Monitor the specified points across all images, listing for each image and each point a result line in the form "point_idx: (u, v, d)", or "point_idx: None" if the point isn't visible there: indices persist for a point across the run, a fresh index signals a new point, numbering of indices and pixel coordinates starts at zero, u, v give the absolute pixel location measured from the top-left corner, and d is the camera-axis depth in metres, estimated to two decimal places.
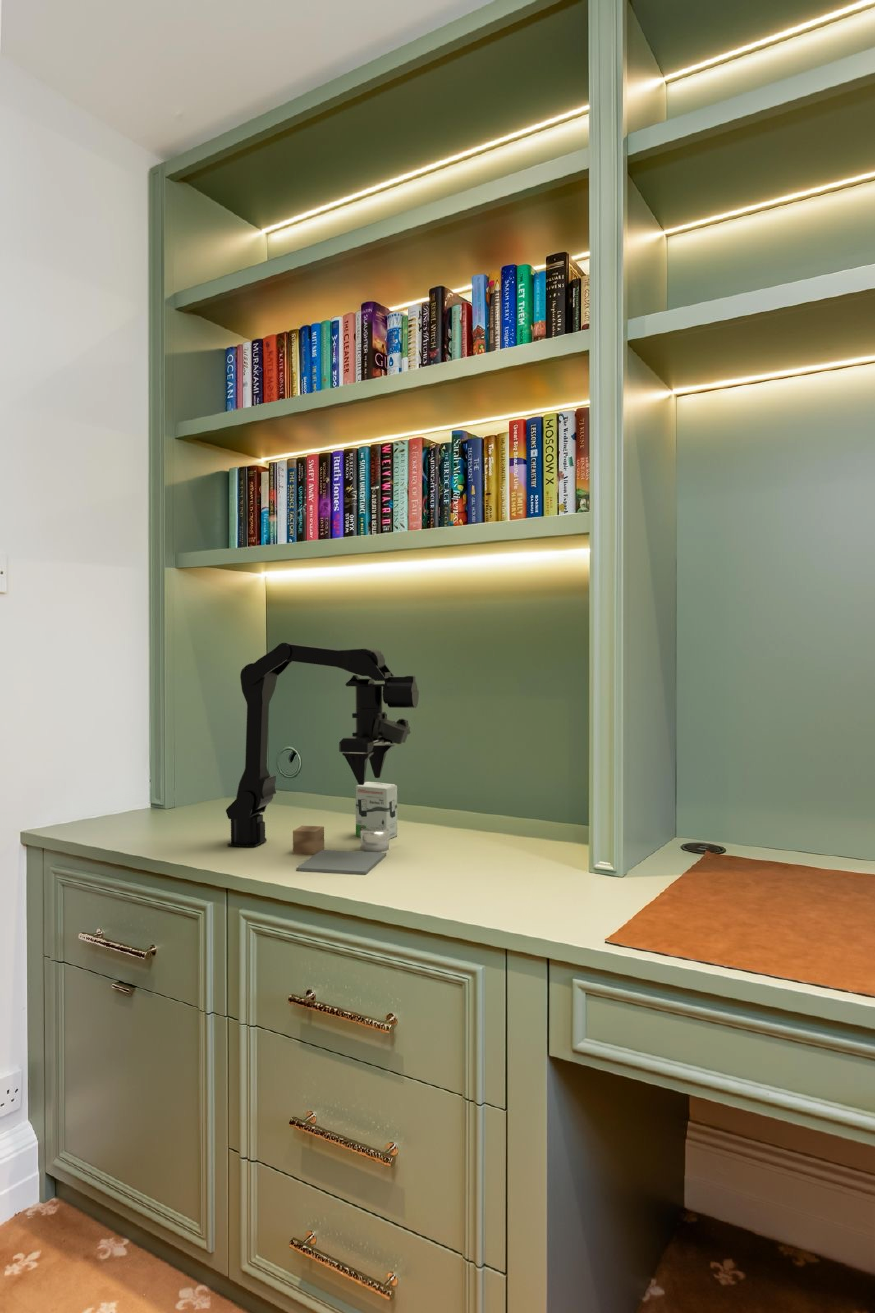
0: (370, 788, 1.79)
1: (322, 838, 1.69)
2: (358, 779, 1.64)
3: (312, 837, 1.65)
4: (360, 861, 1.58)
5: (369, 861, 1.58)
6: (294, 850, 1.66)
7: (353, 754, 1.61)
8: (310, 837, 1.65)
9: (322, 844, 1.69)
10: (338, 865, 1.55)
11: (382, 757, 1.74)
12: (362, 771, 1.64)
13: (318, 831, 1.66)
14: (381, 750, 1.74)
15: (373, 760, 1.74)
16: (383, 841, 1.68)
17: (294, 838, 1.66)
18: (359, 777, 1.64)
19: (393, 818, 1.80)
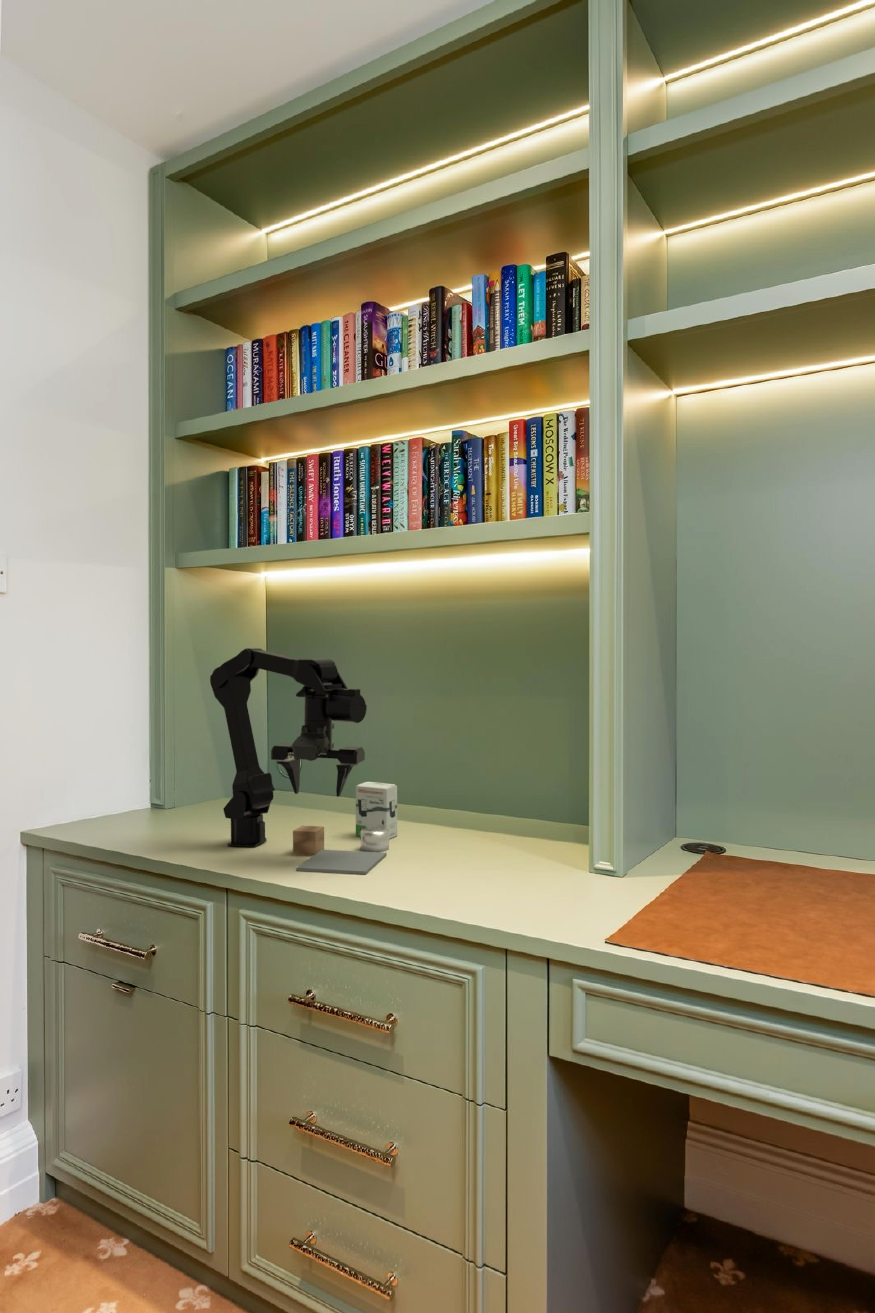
0: (370, 788, 1.79)
1: (322, 838, 1.69)
2: None
3: (312, 837, 1.65)
4: (360, 861, 1.58)
5: (369, 861, 1.58)
6: (294, 850, 1.66)
7: None
8: (310, 837, 1.65)
9: (322, 844, 1.69)
10: (338, 865, 1.55)
11: None
12: None
13: (318, 831, 1.66)
14: None
15: None
16: (383, 841, 1.68)
17: (294, 838, 1.66)
18: None
19: (393, 818, 1.80)
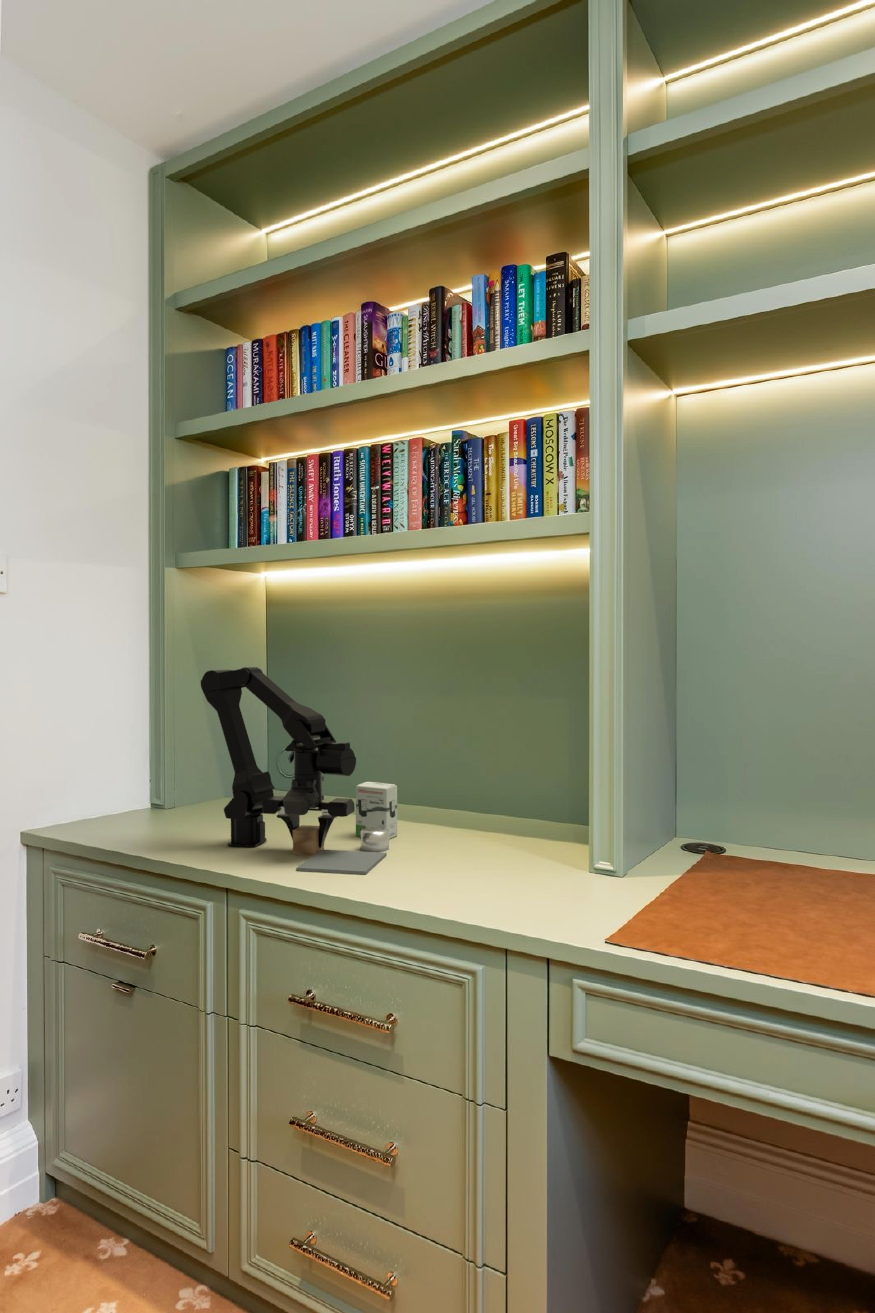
0: (370, 788, 1.79)
1: None
2: None
3: (312, 836, 1.65)
4: (360, 861, 1.58)
5: (369, 861, 1.58)
6: (294, 850, 1.66)
7: None
8: (310, 837, 1.65)
9: None
10: (338, 865, 1.55)
11: None
12: None
13: (317, 831, 1.66)
14: None
15: None
16: (383, 841, 1.68)
17: (294, 838, 1.66)
18: None
19: (393, 818, 1.80)
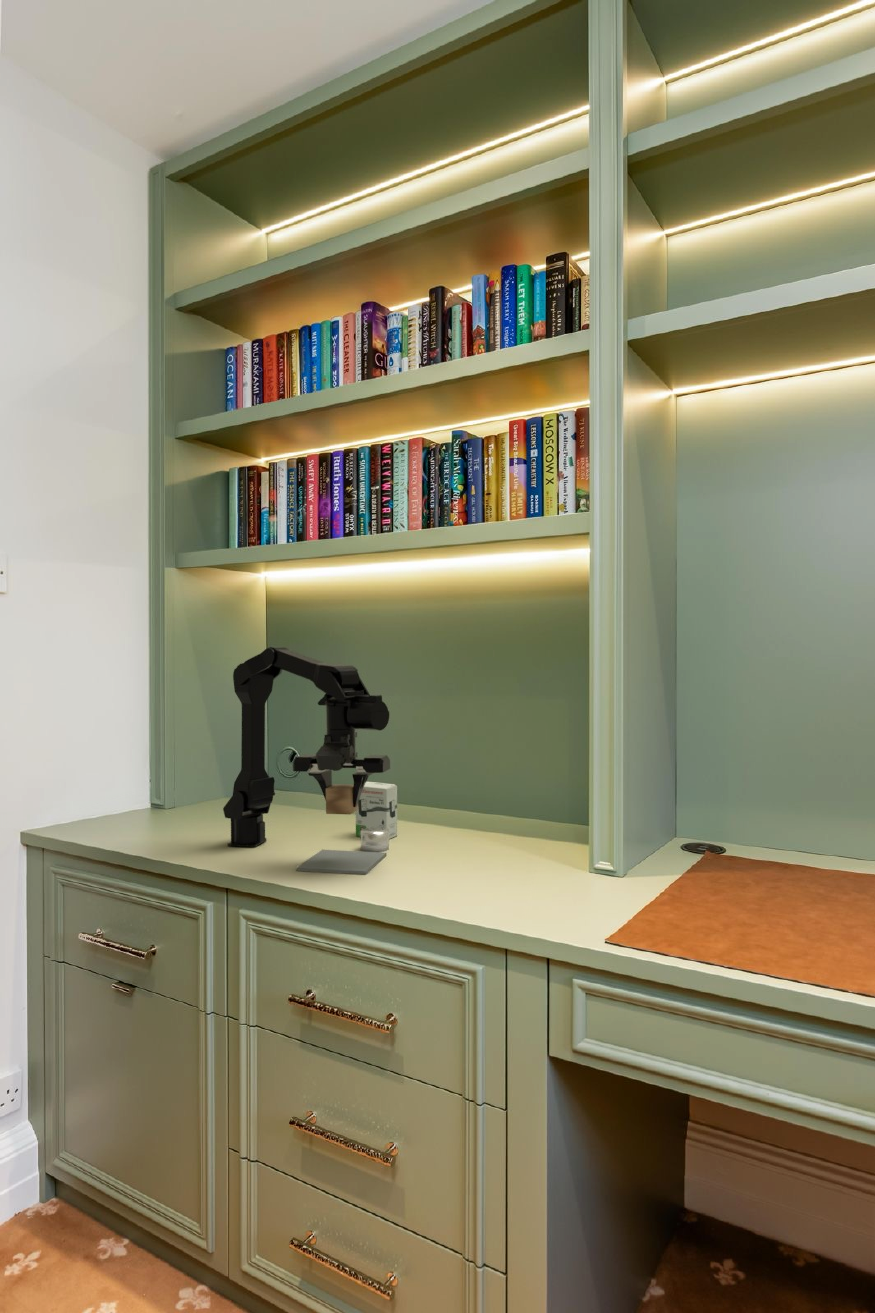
0: (370, 788, 1.79)
1: None
2: None
3: (347, 794, 1.56)
4: (360, 861, 1.58)
5: (369, 861, 1.58)
6: (327, 809, 1.57)
7: None
8: (344, 795, 1.56)
9: None
10: (338, 865, 1.55)
11: None
12: None
13: (352, 789, 1.57)
14: None
15: None
16: (383, 841, 1.68)
17: (327, 796, 1.57)
18: None
19: (393, 818, 1.80)
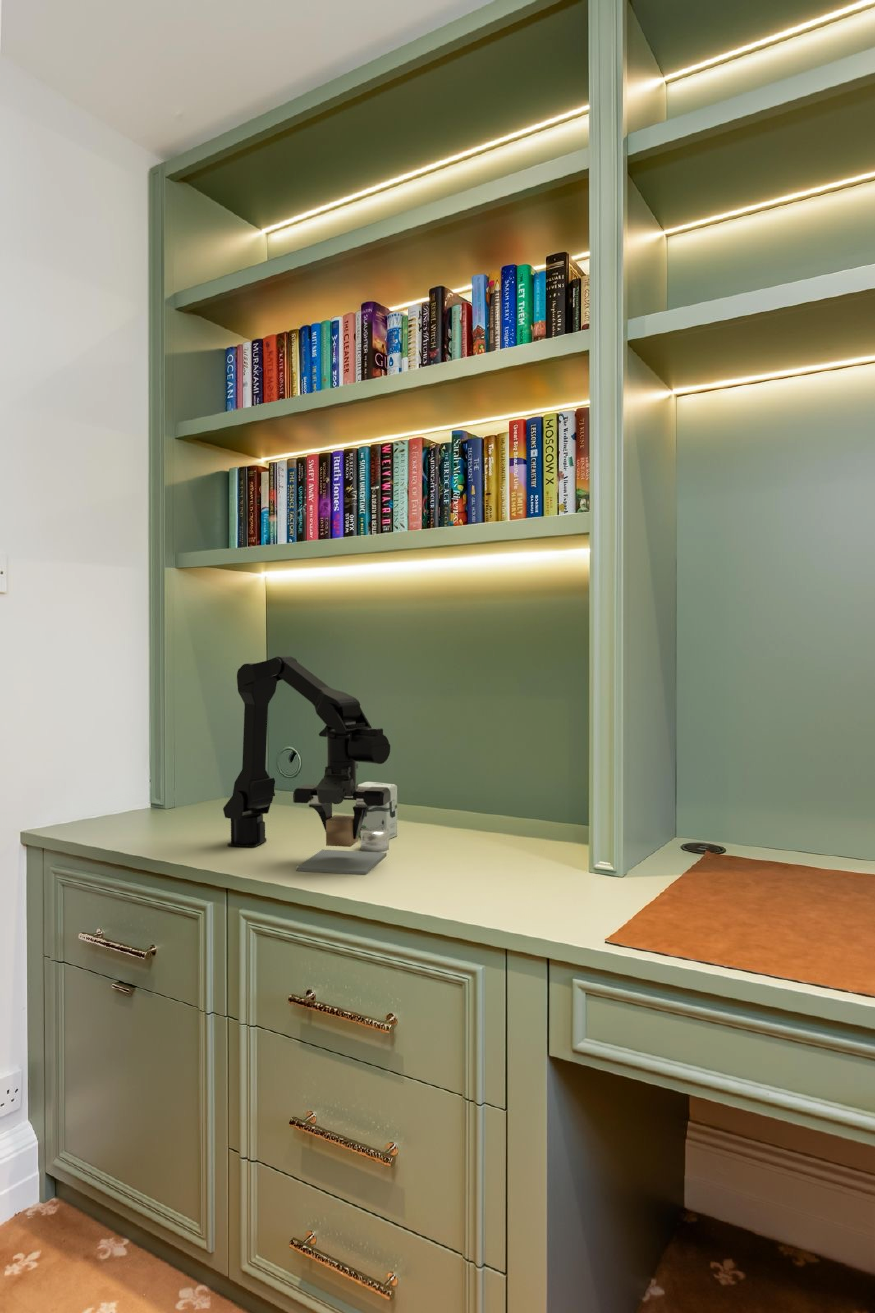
0: None
1: None
2: None
3: (347, 826, 1.56)
4: (360, 861, 1.58)
5: (369, 861, 1.58)
6: (327, 841, 1.57)
7: None
8: (344, 827, 1.56)
9: None
10: (338, 865, 1.55)
11: None
12: None
13: (352, 821, 1.57)
14: None
15: None
16: (383, 841, 1.68)
17: (327, 828, 1.57)
18: None
19: (393, 818, 1.80)
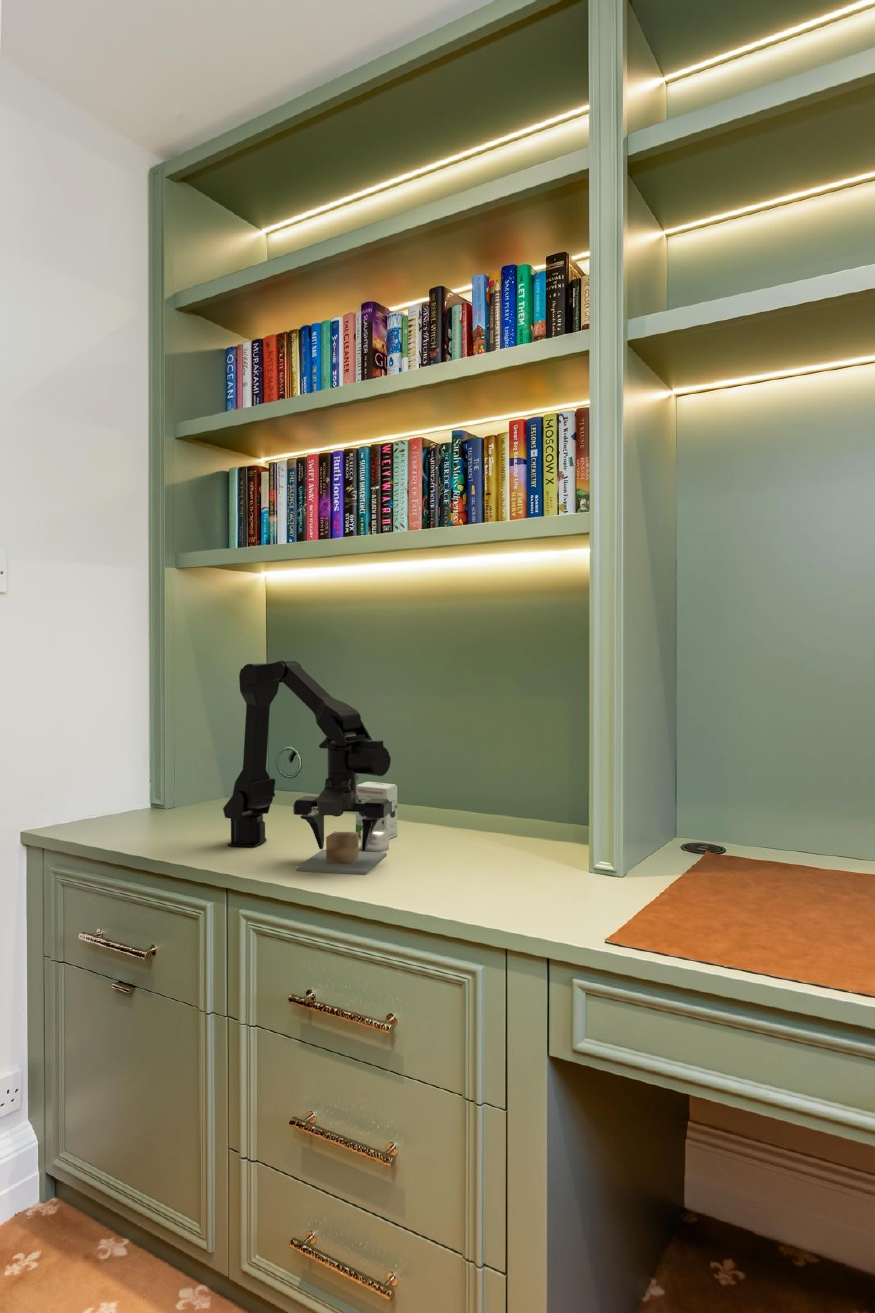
0: (370, 788, 1.79)
1: (356, 845, 1.60)
2: None
3: (347, 843, 1.56)
4: (360, 861, 1.58)
5: (369, 861, 1.58)
6: (327, 858, 1.57)
7: None
8: (344, 844, 1.56)
9: (356, 851, 1.60)
10: (338, 865, 1.55)
11: (364, 829, 1.57)
12: None
13: (352, 838, 1.57)
14: None
15: None
16: (383, 841, 1.68)
17: (327, 845, 1.57)
18: None
19: (393, 818, 1.80)
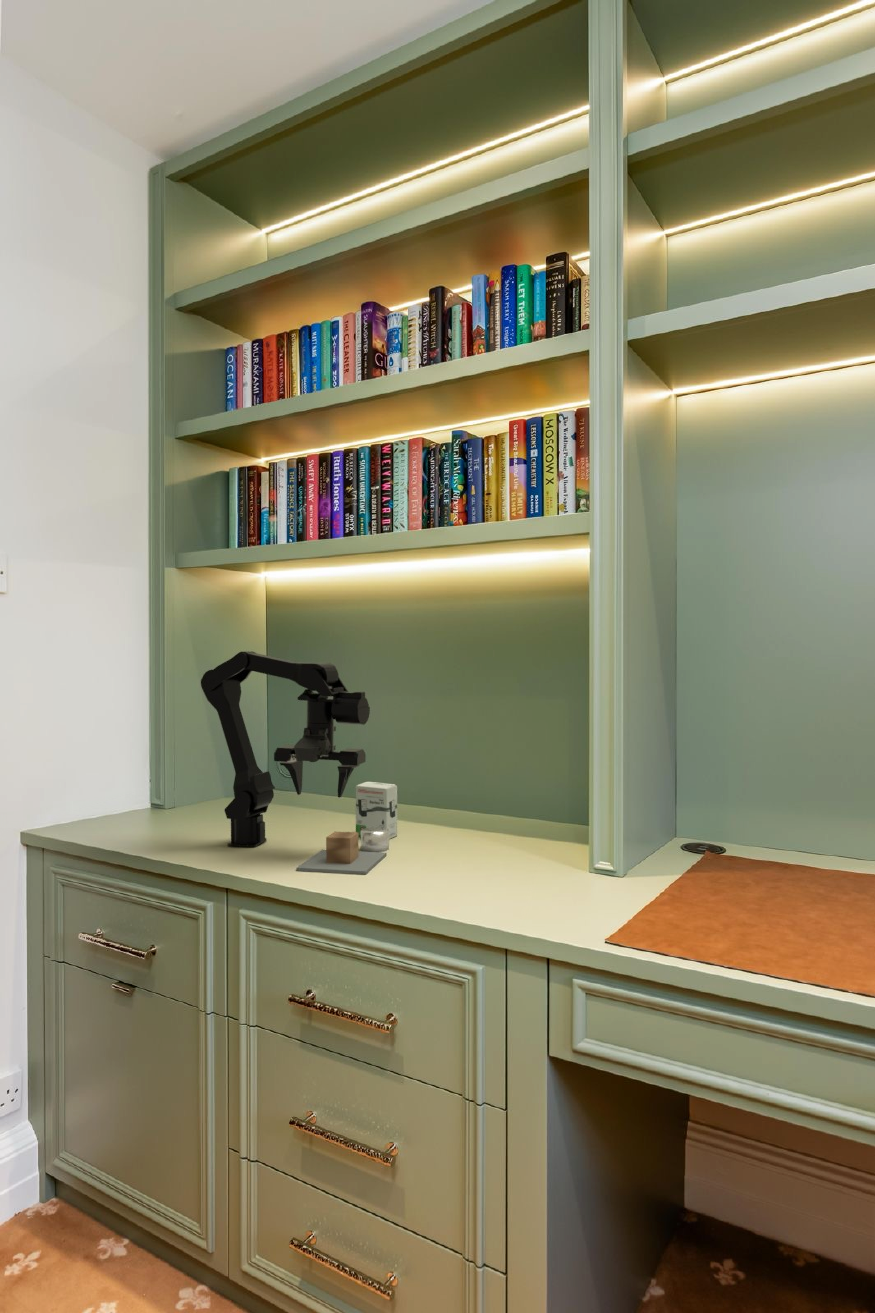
0: (370, 788, 1.79)
1: (356, 845, 1.60)
2: None
3: (347, 843, 1.56)
4: (360, 861, 1.58)
5: (369, 861, 1.58)
6: (327, 858, 1.57)
7: None
8: (344, 844, 1.56)
9: (356, 851, 1.60)
10: (338, 865, 1.55)
11: None
12: None
13: (352, 838, 1.57)
14: None
15: None
16: (383, 841, 1.68)
17: (327, 845, 1.57)
18: None
19: (393, 818, 1.80)
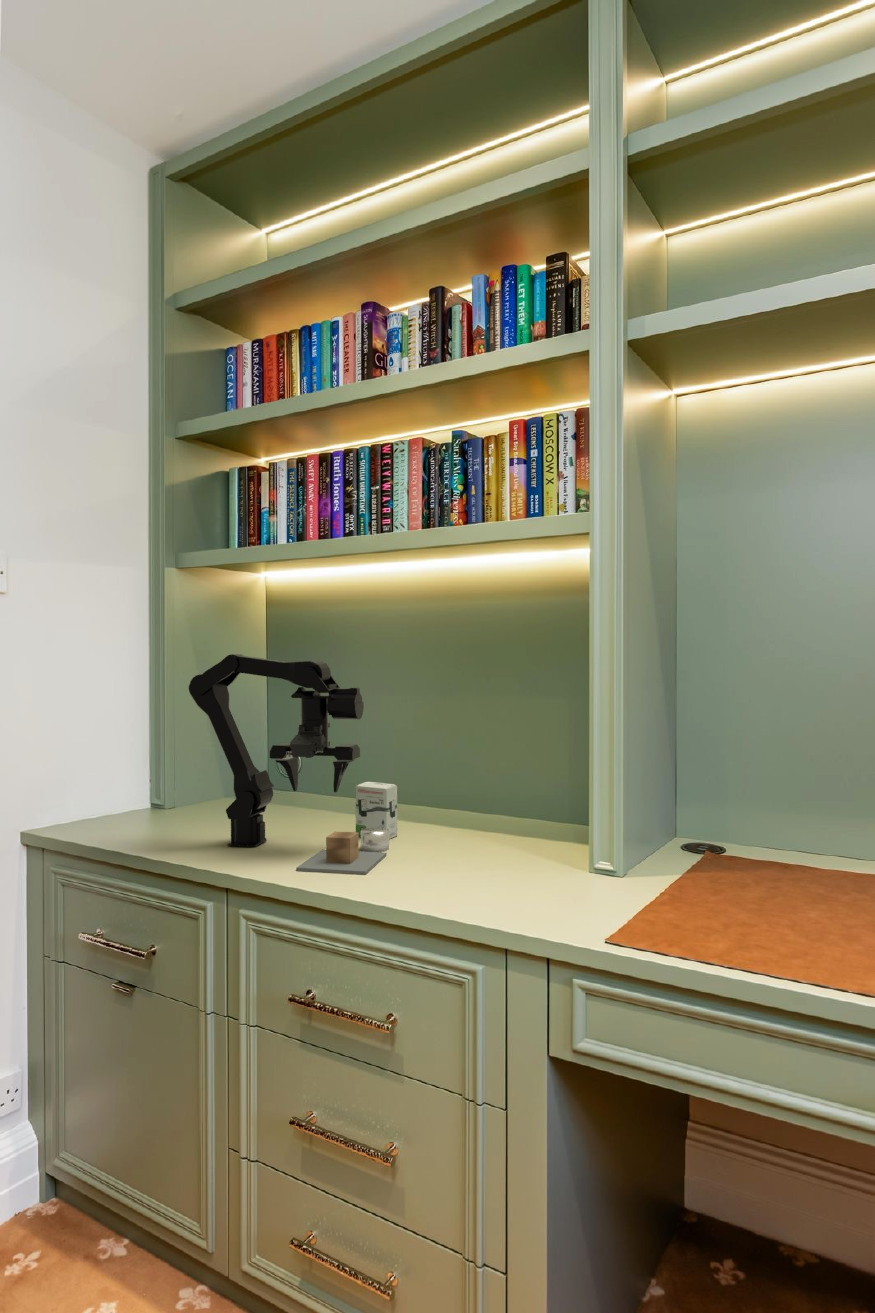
0: (370, 788, 1.79)
1: (356, 845, 1.60)
2: None
3: (347, 843, 1.56)
4: (360, 861, 1.58)
5: (369, 861, 1.58)
6: (327, 858, 1.57)
7: None
8: (344, 844, 1.56)
9: (356, 851, 1.60)
10: (338, 865, 1.55)
11: None
12: None
13: (352, 838, 1.57)
14: None
15: None
16: (383, 841, 1.68)
17: (327, 845, 1.57)
18: None
19: (393, 818, 1.80)
